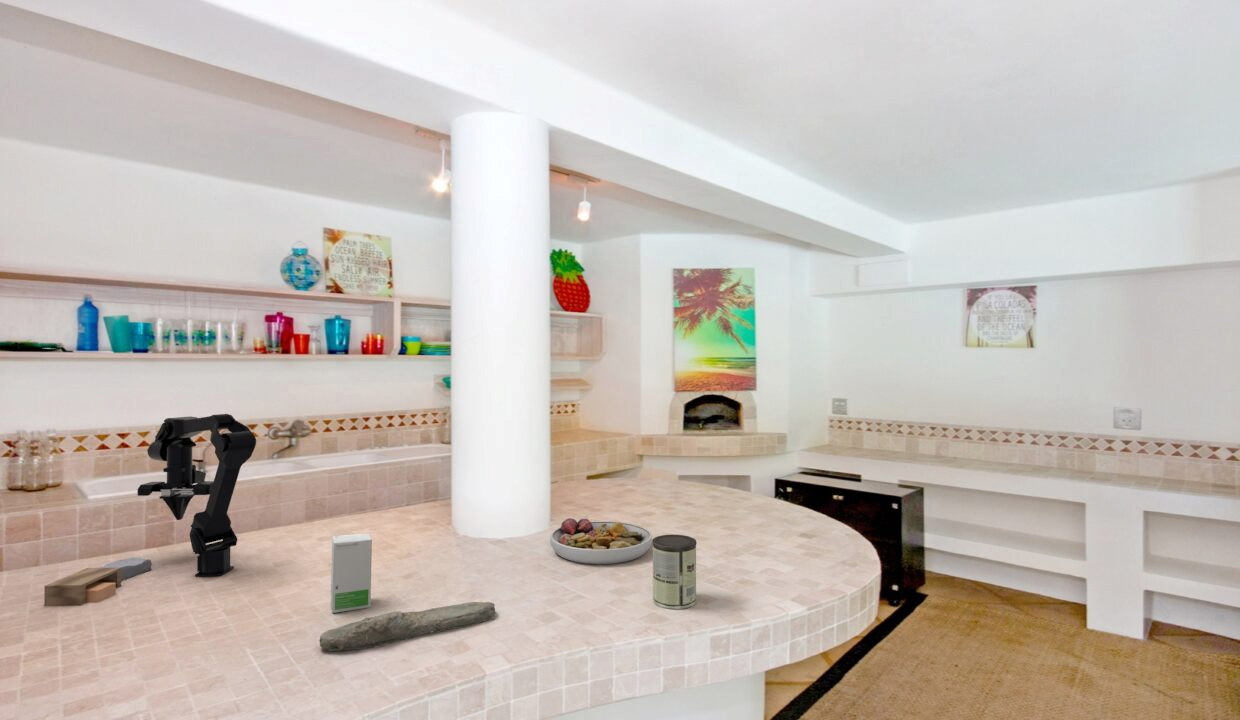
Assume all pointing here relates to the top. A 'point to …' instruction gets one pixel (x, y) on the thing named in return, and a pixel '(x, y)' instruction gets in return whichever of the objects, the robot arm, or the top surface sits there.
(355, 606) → the skincare box
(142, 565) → the stone block
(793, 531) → the top surface
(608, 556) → the bowl
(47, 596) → the shelf
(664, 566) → the coffee can
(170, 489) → the robot arm
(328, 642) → the elongated rock
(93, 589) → the peach cardboard box
